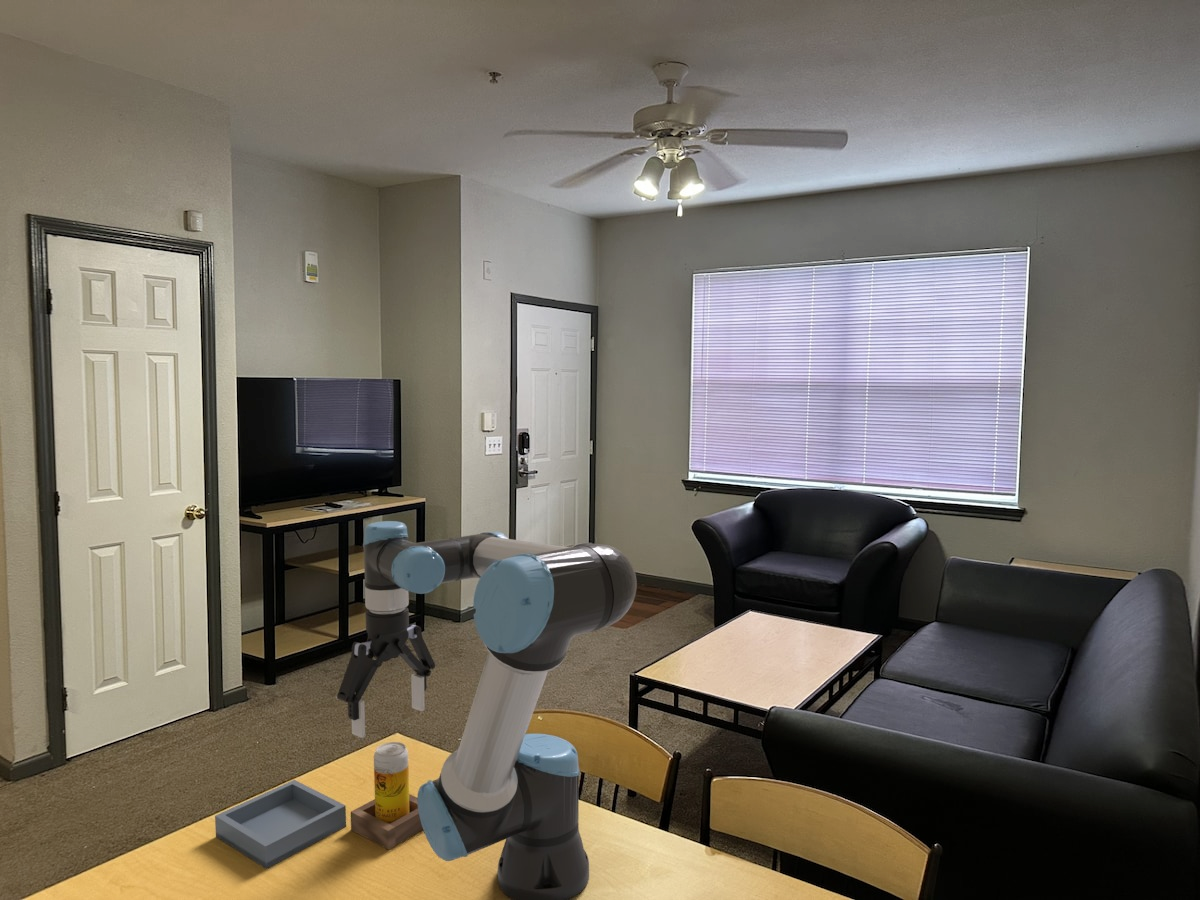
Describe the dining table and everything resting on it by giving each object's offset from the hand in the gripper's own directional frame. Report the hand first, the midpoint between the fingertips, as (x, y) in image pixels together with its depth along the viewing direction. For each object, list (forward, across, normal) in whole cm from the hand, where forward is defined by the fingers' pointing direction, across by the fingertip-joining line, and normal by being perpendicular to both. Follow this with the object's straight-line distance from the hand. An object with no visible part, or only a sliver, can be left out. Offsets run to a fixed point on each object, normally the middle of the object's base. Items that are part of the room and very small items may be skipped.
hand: (389, 721), depth 148 cm
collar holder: (+20, 0, 0) cm, 20 cm away
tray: (+20, +13, -14) cm, 28 cm away
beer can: (+20, 0, 0) cm, 20 cm away
